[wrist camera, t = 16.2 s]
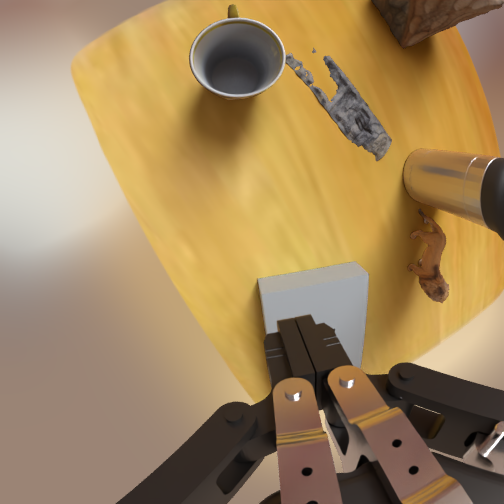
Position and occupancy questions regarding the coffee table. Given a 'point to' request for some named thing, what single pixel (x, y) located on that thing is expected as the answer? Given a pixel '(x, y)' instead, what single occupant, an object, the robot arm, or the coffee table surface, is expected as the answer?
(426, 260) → the lion figurine
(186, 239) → the coffee table surface
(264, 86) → the ceramic cup
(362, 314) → the grey rectangular block
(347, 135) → the driftwood
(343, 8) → the coffee table surface
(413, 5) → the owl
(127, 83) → the coffee table surface
